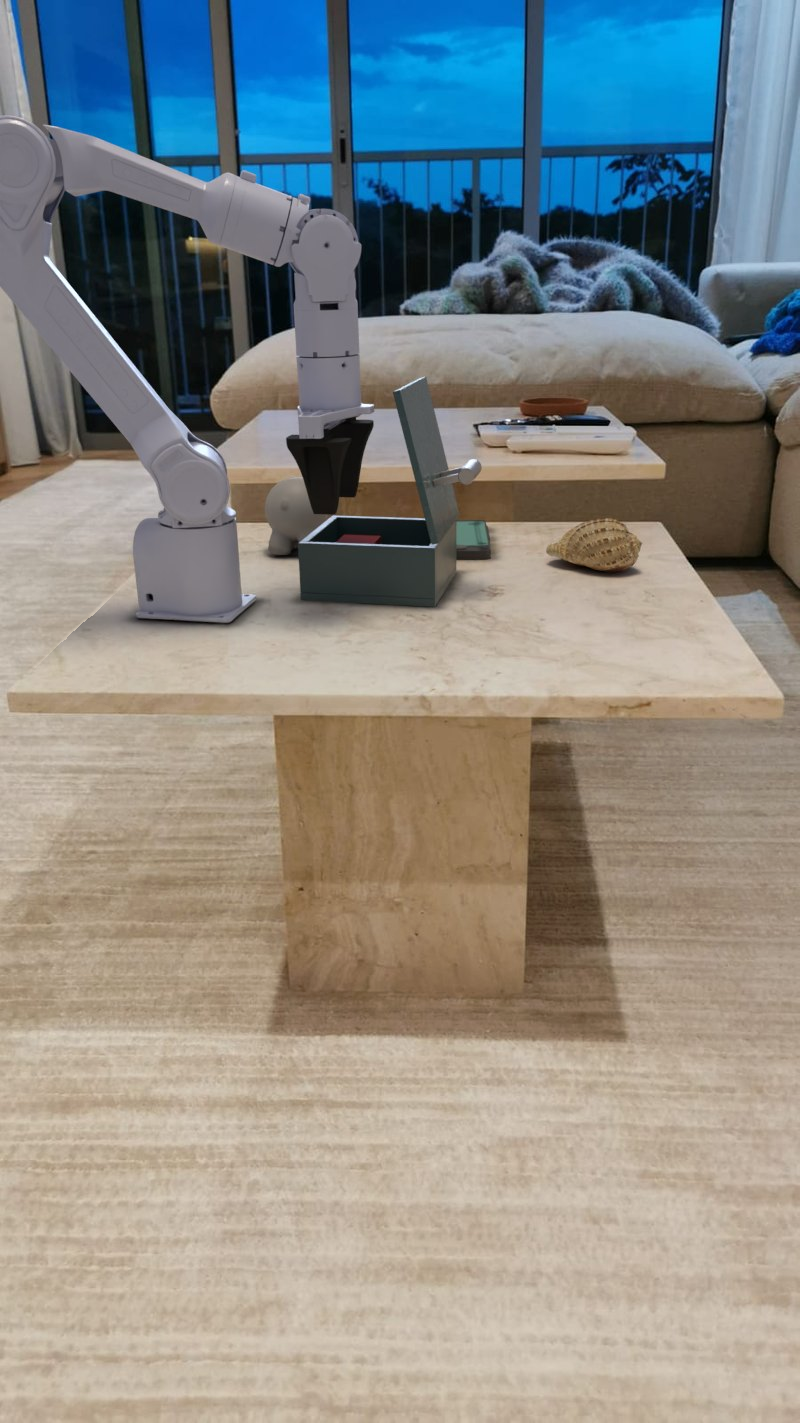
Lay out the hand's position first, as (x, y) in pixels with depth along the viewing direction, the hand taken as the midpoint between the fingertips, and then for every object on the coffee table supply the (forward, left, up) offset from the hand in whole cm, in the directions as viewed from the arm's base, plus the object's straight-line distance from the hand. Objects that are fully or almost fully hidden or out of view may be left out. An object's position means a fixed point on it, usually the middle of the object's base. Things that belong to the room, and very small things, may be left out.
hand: (335, 505), depth 102 cm
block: (0, +6, -9) cm, 11 cm away
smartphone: (+8, +25, -10) cm, 28 cm away
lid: (+8, +6, +4) cm, 10 cm away
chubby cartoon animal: (-10, +21, -10) cm, 25 cm away
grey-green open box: (+3, +6, -10) cm, 12 cm away
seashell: (+24, +17, -10) cm, 31 cm away
